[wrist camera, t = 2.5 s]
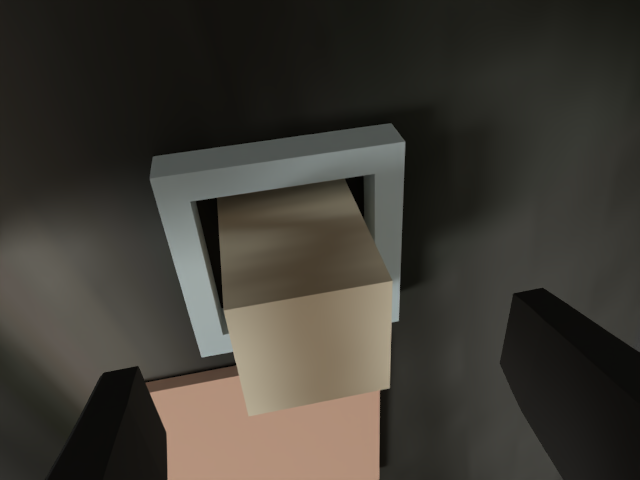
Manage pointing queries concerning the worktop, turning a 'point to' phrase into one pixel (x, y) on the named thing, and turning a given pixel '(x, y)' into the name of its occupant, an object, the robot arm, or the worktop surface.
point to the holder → (265, 174)
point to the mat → (263, 433)
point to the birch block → (303, 296)
